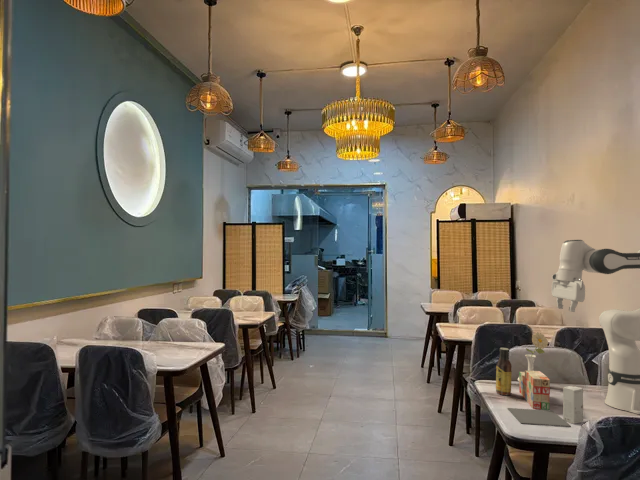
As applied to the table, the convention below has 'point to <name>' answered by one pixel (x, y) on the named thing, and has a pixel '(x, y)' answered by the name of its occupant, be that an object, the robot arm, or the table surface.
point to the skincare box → (573, 404)
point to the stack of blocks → (535, 389)
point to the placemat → (538, 417)
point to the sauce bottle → (503, 373)
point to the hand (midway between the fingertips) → (565, 310)
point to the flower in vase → (540, 343)
